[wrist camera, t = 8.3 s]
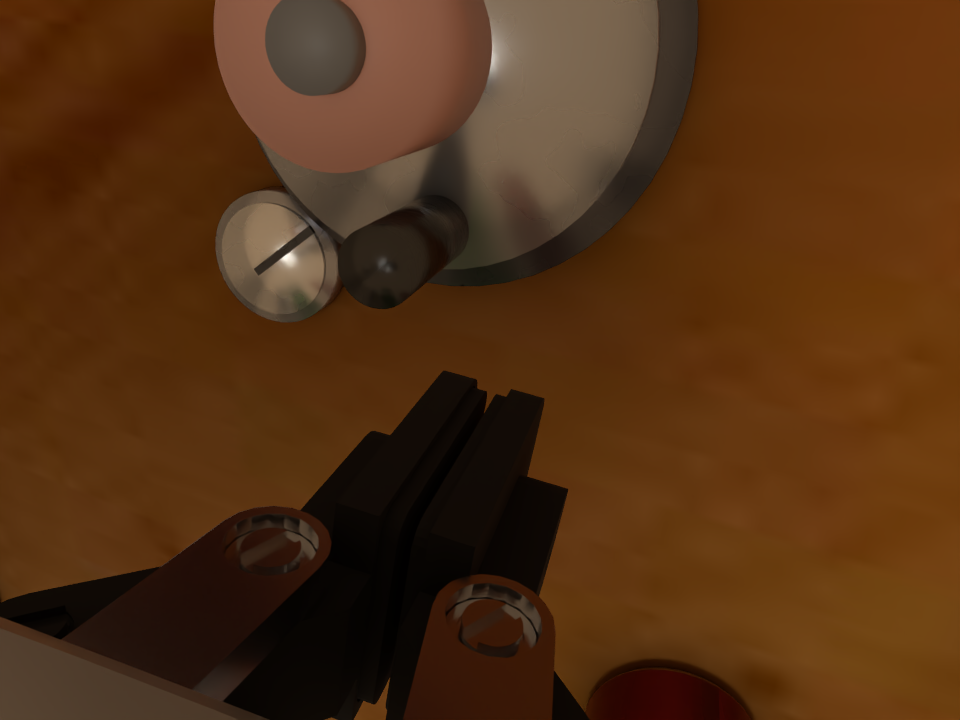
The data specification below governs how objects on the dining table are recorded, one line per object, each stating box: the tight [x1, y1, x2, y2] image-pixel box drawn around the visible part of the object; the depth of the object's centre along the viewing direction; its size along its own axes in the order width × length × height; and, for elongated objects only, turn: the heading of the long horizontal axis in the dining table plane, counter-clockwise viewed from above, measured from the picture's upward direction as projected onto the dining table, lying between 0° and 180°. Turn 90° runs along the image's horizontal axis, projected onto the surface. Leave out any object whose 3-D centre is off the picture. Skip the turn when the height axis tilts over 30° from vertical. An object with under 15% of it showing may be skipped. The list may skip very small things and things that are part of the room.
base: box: [256, 0, 698, 286], centre depth 23 cm, size 15×15×1 cm
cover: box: [214, 0, 492, 173], centre depth 19 cm, size 6×6×5 cm
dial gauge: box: [216, 187, 343, 322], centre depth 28 cm, size 5×5×1 cm
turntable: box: [259, 0, 661, 309], centre depth 20 cm, size 13×13×6 cm
